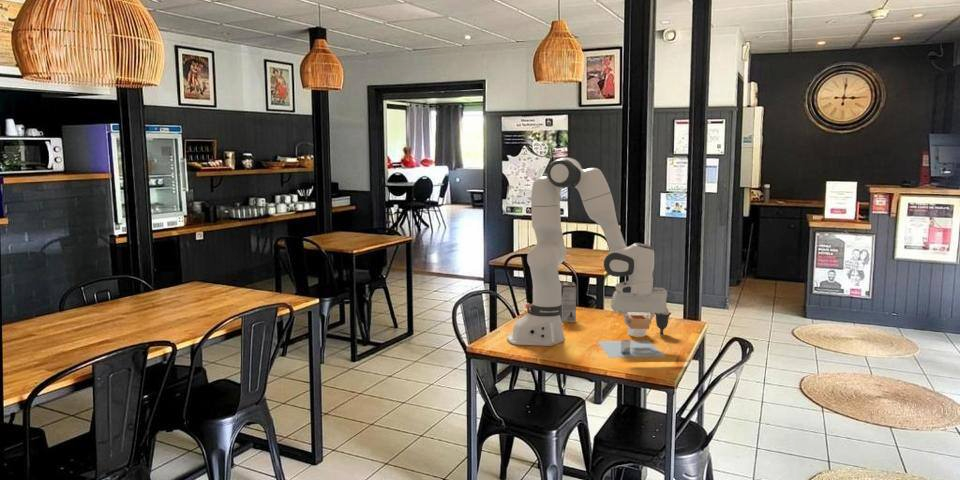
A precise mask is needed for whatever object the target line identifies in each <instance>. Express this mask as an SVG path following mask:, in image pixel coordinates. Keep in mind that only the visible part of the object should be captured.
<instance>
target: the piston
mask: <svg viewBox="0 0 960 480" xmlns="http://www.w3.org/2000/svg"><path fill="white" fill-rule="evenodd" d="M620 341H621V353H622V354H630V341H631V340H629V339H621V340H620Z"/></svg>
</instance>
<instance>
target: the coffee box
mask: <svg viewBox="0 0 960 480" xmlns="http://www.w3.org/2000/svg"><path fill="white" fill-rule="evenodd" d="M560 283H561V304H562V319H561V321H562V323H563V322H564V323H565V322H566V323H576V322H577V321H576V320H577V319H576V318H577V315H576V314H577V285H576V282H575V281H560Z"/></svg>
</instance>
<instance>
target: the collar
mask: <svg viewBox="0 0 960 480" xmlns="http://www.w3.org/2000/svg"><path fill="white" fill-rule="evenodd" d="M626 317H627V318H629V319H630V320H629V323H625V325H627V327H628V326H629V327H630V328H631V329H647V330H650V324H649V323H650V320H649V319H648V318H649V317H648V318H647V317H646V316H645V315H626Z"/></svg>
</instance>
